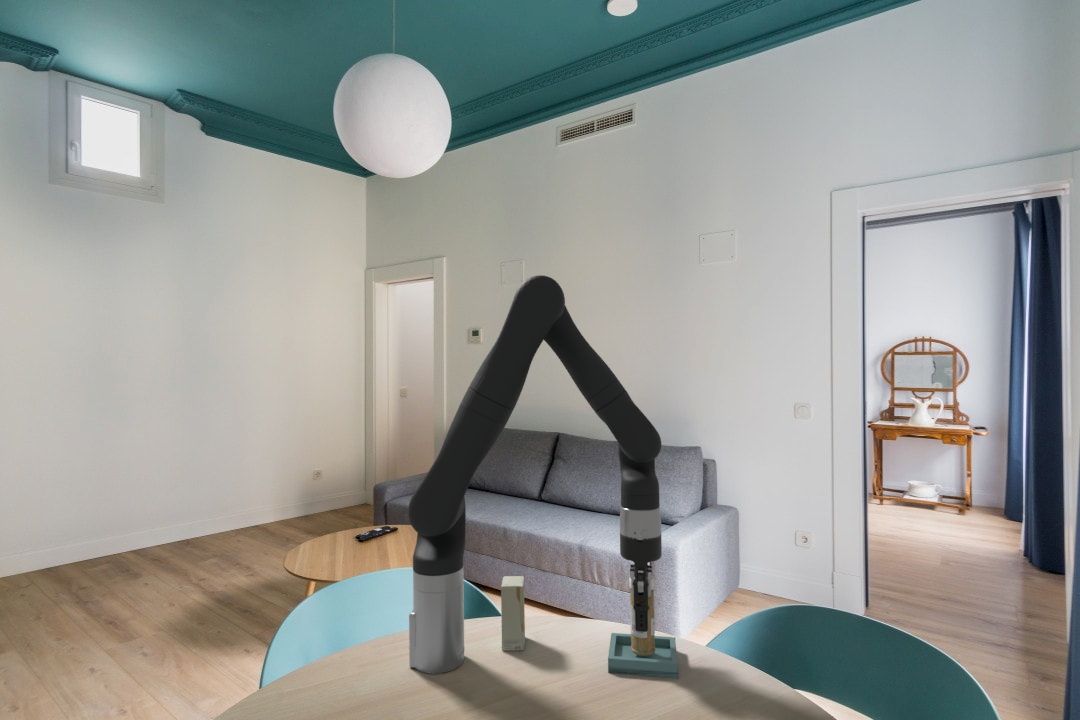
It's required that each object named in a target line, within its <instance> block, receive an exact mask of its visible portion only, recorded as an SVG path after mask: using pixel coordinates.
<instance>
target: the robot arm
mask: <svg viewBox="0 0 1080 720" xmlns="http://www.w3.org/2000/svg"><path fill="white" fill-rule="evenodd" d="M543 341H544V342H546V344H547V345H548V346H549V347H550V349H551V350H552V351H553V352H554V354H555V355H556V356H557V358H558V359H559V360H560V362H561V364H562V366H564V369H565V370H566V371H567V373H568V374H569V376H570V378H571V379H572V381H573V382H574V384H575V386H576V388H578V390H579V392H580V393H581V395H582V396H583V397H584V399H585V401H586V402H587V403H588V405H589V406H590V408H591V409H592V410H593V411H594V413H595V414H596V415H597V417H598V418H599V419H600V420H601V421H602V422H603V423H604V424H605V425H606V426H607V428H608V429H609V430H610V433H611V434H612V436H613V437H614V439H615V440H616V442H617V445H618V446H617V448H618V460H619V461H618V462H619V469H620V477H621V478H620V512H619V552H620V557H622V558H623V559H625V560H626V561H631V562H633V563H632V564H629V565H630V566H629V567H630V569H629V578H631V591H630V592H631V593H632V595H633V596H634V606H633V609H634V611H635V629H636V631H641V632H647V631H648V609H649V606H648V597H650V596H651V580H652V577H653V566H652V564H649V563H651V562H653V563H654V562H656V561H658V560H660V559H661V558H662V554H663V553H662V551H663V550H662V548H663V547H662V516H661V509H660V506H661V505H660V483H659V478H658V477H657V474H656V462H655V459H656V458H657V457H658V456H659V454H660V453H661V450H662V439H661V436H660V433H659V431H658V430H657V428H656V427H655V426H654V425H653V423H652V422H651V421H650V420H649V418H648V417H647V416H646V415H645V413H644V412H642V410H641V409H640V408H639V407H638V406H637V404H635V402H634V401H633V399H632V398H631V396H630V394H629V393H628V391H627V390H626V388H625V387H624V386H623V384H622V383H621V382H620V380H619V378H618V377H617V376H616V375H615V373H614V372H613V370H612V369H611V368H610V366H609V365H608V364H607V363H606V362H605V361H604V360H603V358H602V357H601V356H600V355H599V354H598V353H597V352H596V350H595V349H594V348H593V347H592V346H591V344H590V343H589V342H588V341H587V340H586V338H585V337H584V336H583V334H582V332H581V331H580V329H579V328H578V327H577V325H576V324H575V322H574V320H573V319H572V316H571V314H570V312H569V310H568V308H567V306H566V298H565V293H564V291H563V288H562V287H561V286H560V284H559V283H558V281H556V280H555V279H554V278H552V277H550V276H547V275H541V274H540V275H539V274H538V275H534V276H530V277H529V278H526V279H525V280H524V281H522V282H521V283H520V285H518V288H517V289H516V291H515V294H514V296H513V300H512V301H511V305H510V308H509V311H508V313H507V316H506V318H505V320H504V323H503V325H502V328H501V330H500V331H499V335H498V337H497V339H496V341H495V343H494V344H493V345H492V347H491V349H490V351H489V352H488V354H487V355H486V357H485V358H484V359H483V361H482V363H481V364H480V366H479V368H478V370H477V372H476V373H475V375H474V377H473V379H472V381H471V382H470V384H469V386H468V388H467V390H466V392H465V393H464V395H463V398H462V400H461V401H460V404H459V405H458V408H457V411H456V413H455V415H454V417H453V420H452V422H451V424H450V427H449V428H448V429H447V430H448V431H447V434H446V436H445V438H444V441H443V443H442V445H441V447H440V450H439V453H438V455H437V456H436V458H435V460H434V462H433V464H432V465H431V467H430V468H429V470H428V472H427V473H426V475H425V476H424V478H423V479H422V481H421V483H420V484H419V486H418V487H417V488H416V490H415V492H414V493H413V495H412V496H411V498H410V500H409V503H408V510H407V513H408V520H409V523H410V525H411V527H412V529H413V530H414V531H415V532H416V533H417V536H416V544H415V548H414V551H413V554H412V586H413V587H412V588H413V589H412V590H413V592H412V595H413V596H412V597H413V598H412V601H413V602H412V603H413V604H412V605H413V607H412V610H411V612H410V613H409V615H408V629H409V630H408V631H409V632H408V639H409V641H408V642H409V646H408V650H409V653H408V655H409V662H408V663H409V668H414V669H416V670H417V671H419V672H422V673H425V674H442V673H447V672H450V671H453V670H456V669H458V668H459V667H460V666H461V665H462V664H463V663H464V661H465V607H464V606H465V599H464V598H465V597H464V596H465V595H464V594H465V592H464V591H465V587H464V583H465V582H464V581H465V580H464V576H465V575H464V557H465V556H464V555H465V548H466V520H467V519H466V513H467V512H466V509H467V508H466V507H467V506H466V498H465V495H466V494H467V493H466V492H467V490H468V488H469V486H470V483H471V481H472V480H473V477H474V474H476V471H477V469H478V468H479V466H480V465H481V464H482V462H483V461H484V459H485V458H486V457H487V455H488V454H489V452H490V451H491V450H492V449H493V448H494V447H493V446H494V445H495V444H496V442H497V440H498V439H499V438H500V436H501V434H502V432H504V429H505V427H506V425H507V423H508V422H509V419H510V417H511V415H512V413H513V412H514V410H515V407H516V405H518V401H519V399H520V396H521V394H522V391H523V389H524V385H525V383H526V380H527V376H528V374H529V371H530V368H531V365H532V363H533V360H534V357H535V355H536V353H537V351H538V349H540V347H541V344H542V343H543ZM634 577H635V580H634ZM647 578H648V581H647ZM643 589H644V590H643ZM638 600H640V601H645V604H644V603H637V601H638Z"/></svg>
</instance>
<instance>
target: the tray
mask: <svg viewBox="0 0 1080 720" xmlns="http://www.w3.org/2000/svg"><path fill="white" fill-rule="evenodd" d="M673 637H674V638H673ZM654 638H655V652H654V653H653V654H652V655H647V656H641V655H637V654H635V653H633V652H632V651H631V633H617V632H611V634H610V641H609V646H608V647H609V649H608V656H607V673H610V674H621V675H632V676H645V677H656V678H657V677H658V678H668V679H679V664H678V662H679V661H678V652H677V643H676V637H675V636H660V635H654Z"/></svg>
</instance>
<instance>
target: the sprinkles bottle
mask: <svg viewBox="0 0 1080 720" xmlns="http://www.w3.org/2000/svg"><path fill="white" fill-rule="evenodd" d="M628 580H629V582H628V585H629V591H630V596H629V597H630V600H629V601H630V602H629V603H630V604H629V608H630V609H629V610H630V611H629V613H630V618H629V619H630V634H631V651H632V652H633V653H635V654H637V655H641V656H647V655H652V654H653V653H654V652H655V638H654V636H655V633H656V632H655V631H656V629H655V627H656V626H655V604H654V603H655V602H654V601H655V598H654V592H655V578H654V576H652V580H651V596H650V597H648V606H649V609H648V631H647V632H641V631H636V629H635V611H634V609H633V606H634V596H633V595H632V593H631V578H630V577H629V579H628ZM634 580H635V577H634ZM647 581H648V578H647ZM643 590H644V589H643ZM637 603H644V604H645V601H640V600H638V601H637Z"/></svg>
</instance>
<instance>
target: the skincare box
mask: <svg viewBox="0 0 1080 720" xmlns="http://www.w3.org/2000/svg"><path fill="white" fill-rule="evenodd" d="M500 596H501V597H500V601H501V602H500V605H501V606H500V607H501V613H500V615H501V650H502V651H524V650H525V649H524V648H525V642H526V627H525V626H526V625H525V624H526V623H525V619H526V617H525V615H526V614H525V576H523V575H512V576H511V575H507V576H505V575H504V576H503V577H502V581H501V585H500Z"/></svg>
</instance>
